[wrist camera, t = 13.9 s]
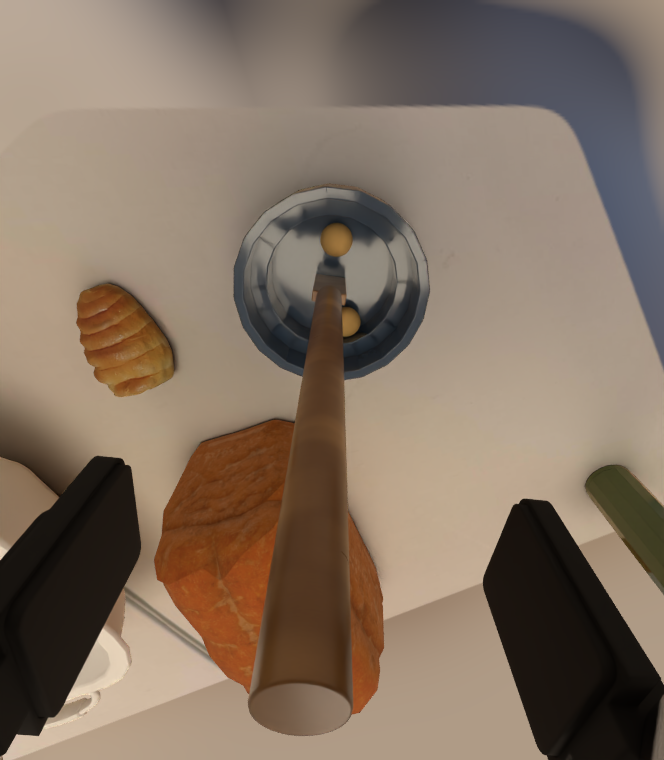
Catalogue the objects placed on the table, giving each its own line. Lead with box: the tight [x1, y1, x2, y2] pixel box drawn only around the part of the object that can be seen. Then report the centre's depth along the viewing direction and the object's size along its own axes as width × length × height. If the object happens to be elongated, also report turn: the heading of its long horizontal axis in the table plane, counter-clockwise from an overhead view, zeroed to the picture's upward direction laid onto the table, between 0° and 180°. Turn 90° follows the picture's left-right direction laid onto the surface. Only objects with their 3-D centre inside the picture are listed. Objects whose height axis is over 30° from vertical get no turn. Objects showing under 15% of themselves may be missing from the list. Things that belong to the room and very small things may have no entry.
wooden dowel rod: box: [248, 274, 353, 736], centre depth 20 cm, size 2×2×30 cm
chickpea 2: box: [342, 307, 360, 337], centre depth 34 cm, size 2×2×2 cm
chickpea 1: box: [320, 223, 353, 257], centre depth 31 cm, size 2×2×2 cm
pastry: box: [76, 284, 174, 397], centre depth 35 cm, size 9×7×4 cm
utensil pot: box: [585, 465, 664, 595], centre depth 38 cm, size 5×5×12 cm
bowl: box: [234, 183, 430, 380], centre depth 32 cm, size 13×13×6 cm
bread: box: [154, 419, 384, 715], centre depth 40 cm, size 14×27×15 cm, turn 21°
